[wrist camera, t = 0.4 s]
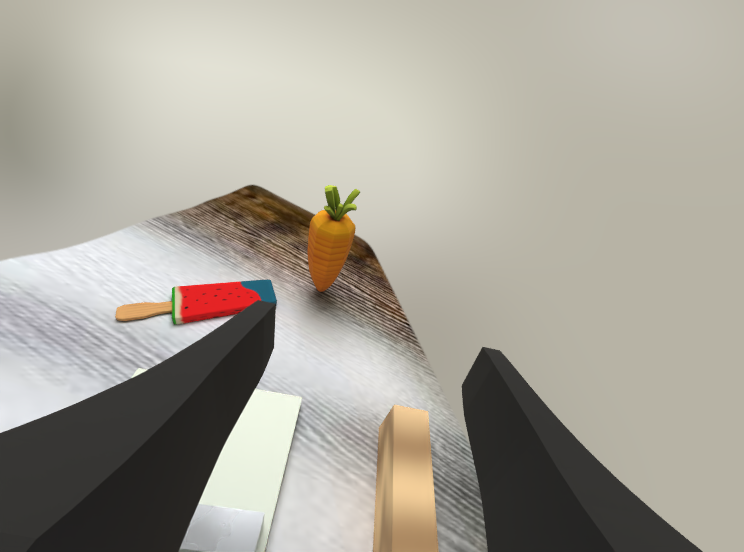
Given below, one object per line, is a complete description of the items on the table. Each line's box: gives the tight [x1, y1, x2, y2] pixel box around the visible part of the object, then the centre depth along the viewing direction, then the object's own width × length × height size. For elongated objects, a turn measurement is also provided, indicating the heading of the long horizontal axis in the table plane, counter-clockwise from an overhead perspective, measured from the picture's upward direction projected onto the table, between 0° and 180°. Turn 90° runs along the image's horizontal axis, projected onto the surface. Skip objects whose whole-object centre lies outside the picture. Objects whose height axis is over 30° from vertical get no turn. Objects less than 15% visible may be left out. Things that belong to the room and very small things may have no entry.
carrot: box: [308, 185, 360, 292], centre depth 35 cm, size 5×5×15 cm
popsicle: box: [116, 280, 277, 324], centre depth 33 cm, size 4×2×15 cm
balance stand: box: [132, 368, 302, 552], centre depth 18 cm, size 20×14×4 cm
